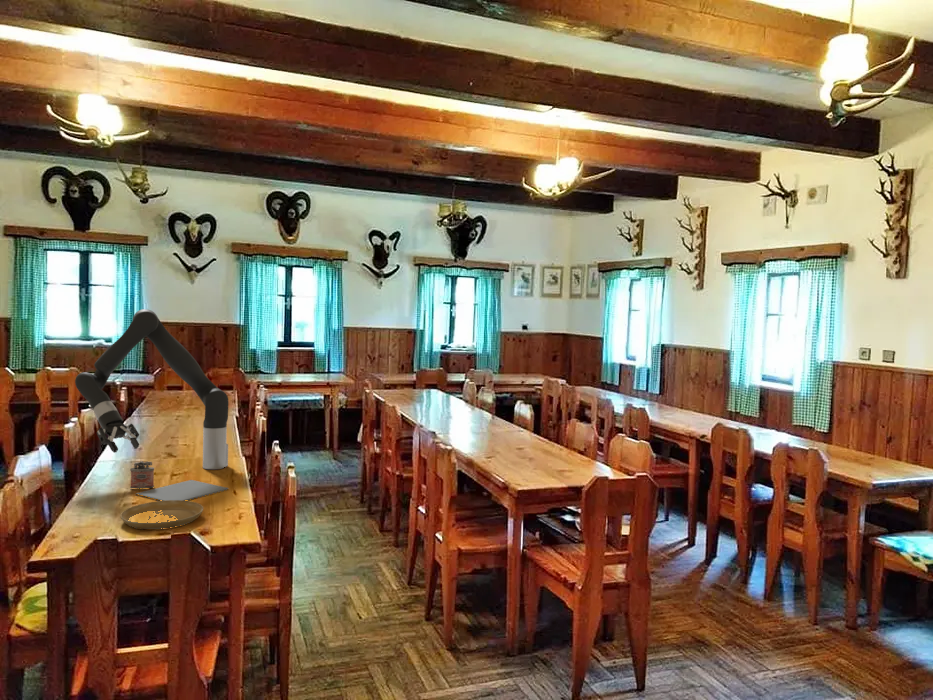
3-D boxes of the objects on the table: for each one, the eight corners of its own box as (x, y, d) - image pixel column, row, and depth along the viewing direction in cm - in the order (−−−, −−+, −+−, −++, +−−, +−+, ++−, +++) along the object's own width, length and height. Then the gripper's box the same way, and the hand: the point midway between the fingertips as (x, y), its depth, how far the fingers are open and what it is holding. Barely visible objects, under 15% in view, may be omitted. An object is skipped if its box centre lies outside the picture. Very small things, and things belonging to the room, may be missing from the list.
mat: (191, 481, 266) (191, 479, 266) (228, 489, 257) (228, 487, 257) (135, 495, 245) (135, 493, 245) (173, 504, 236) (173, 502, 236)
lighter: (129, 489, 252) (129, 462, 251) (131, 487, 255) (131, 460, 254) (153, 489, 254) (153, 462, 253) (154, 486, 257) (155, 460, 256)
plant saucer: (113, 535, 204) (113, 524, 204) (128, 511, 227) (128, 501, 227) (199, 530, 211) (199, 520, 211) (206, 508, 234) (206, 498, 234)
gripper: (94, 411, 255) (113, 446, 250) (129, 407, 267) (148, 440, 263) (85, 424, 258) (104, 458, 253) (120, 419, 270) (139, 452, 265)
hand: (126, 449), depth 258 cm, fingers open, 8 cm apart
